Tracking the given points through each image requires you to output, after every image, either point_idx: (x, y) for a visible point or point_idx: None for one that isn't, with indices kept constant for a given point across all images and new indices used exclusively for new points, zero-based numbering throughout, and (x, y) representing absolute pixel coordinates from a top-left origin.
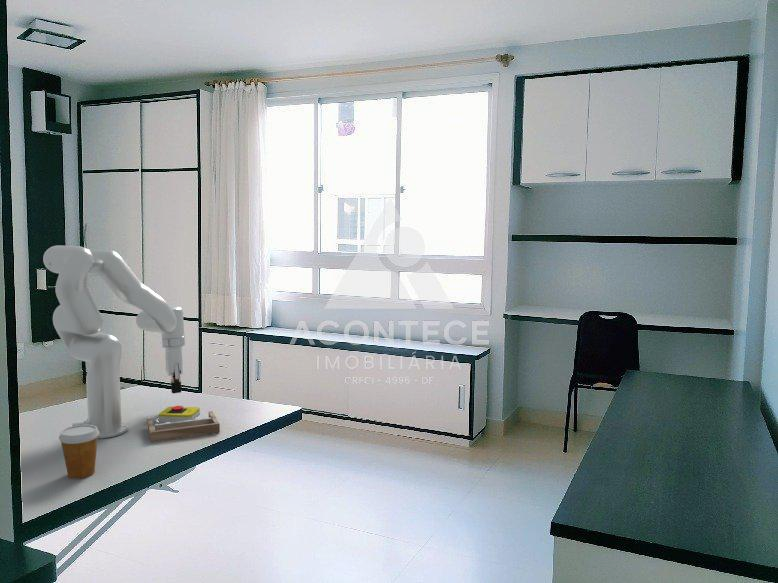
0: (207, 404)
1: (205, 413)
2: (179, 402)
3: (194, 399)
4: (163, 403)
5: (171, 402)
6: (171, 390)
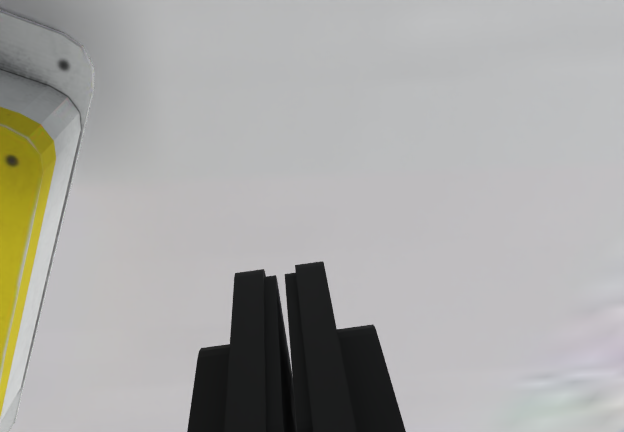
0: None
1: (56, 426)
2: (548, 198)
3: (577, 324)
4: (612, 12)
5: (599, 112)
6: (323, 276)
